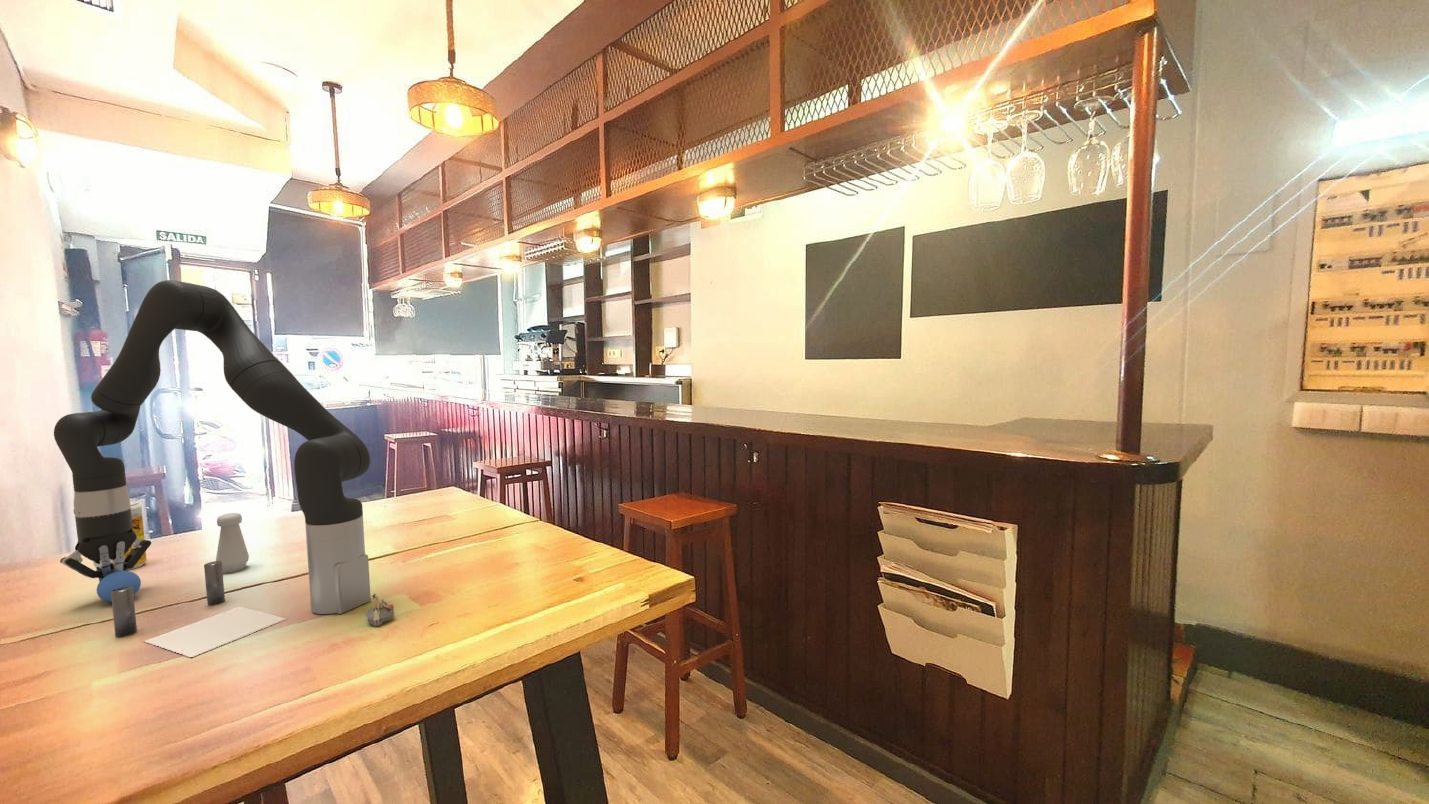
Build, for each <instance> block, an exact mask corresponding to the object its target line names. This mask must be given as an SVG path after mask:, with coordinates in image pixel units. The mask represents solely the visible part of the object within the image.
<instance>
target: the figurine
mask: <svg viewBox="0 0 1429 804" xmlns="http://www.w3.org/2000/svg"><path fill="white" fill-rule="evenodd" d="M371 597H372V600H374V606H373V607H371V608H370V609H368V610H367V611H366V612H365V617H366V618H367V620H366V621H367V623H369V624H371V625H372V626H373V627H378V626H381V625H382V624H384V623H386V621H387V622H389V621H391V620H392V619H393V618H394V615H395V609H394V608H395V605H394V604H392V603H391V600H389V601H386V600H385V599H384V598H382V599H381V598H379V596H378V595H377V594H376V593H374V594H373V595H372V596H371Z"/></svg>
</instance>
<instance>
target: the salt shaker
mask: <svg viewBox="0 0 1429 804" xmlns="http://www.w3.org/2000/svg"><path fill="white" fill-rule="evenodd" d="M242 517H243V516H242V514H240V513H238V512H230V513H225V514H221V515H219V516H218V517H217V518H216V525H217V526H218V527H220V529H219V530H220V532H219V538H218V544H217V551H216V558H215V561H222V569H223V574H230V573H231V574H232V573H236V572H239V571H243V570H244V569H245V568H246V566H247V564H248V561H249V559H250V554H249V552H248V549H247V546H246V542H245V539H244V537H243V536H244V535H243V533H242V530H241V525H240V524H241V523H242V521H243V518H242Z"/></svg>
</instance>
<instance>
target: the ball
mask: <svg viewBox="0 0 1429 804" xmlns="http://www.w3.org/2000/svg"><path fill="white" fill-rule="evenodd" d="M141 586H142V581H141V578H140V576H139V575H138V574H137V573H135V572H133V571H130V570H126V571H117V572H114V573H111V574H109V575H107V576H106V577H104V578H103V579H102V580H101V581H100V582H99V581H98V584H97V586H96V594H97V596H98V598H100V600H103V602H104V601H105V602H108V603H112V598H111V591H113V590H115V589H118V588H122V587H133V595H134V596H135V595H136V594H137V593H138V592H139V590H140V588H141Z"/></svg>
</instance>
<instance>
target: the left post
mask: <svg viewBox="0 0 1429 804" xmlns="http://www.w3.org/2000/svg"><path fill="white" fill-rule="evenodd" d="M134 596H135V595H133V587H122V588H118V589H115V590H113V591H111V598H112V602H111V605H112V616H113V617H112V618H113V627H114V633H115V634H114V636H115V637H116V638H124V637H128V636H131V635H134V634H135V633H137V631H138V629H137V628H138V626H137V618H136V608H135V599H134V598H135V597H134Z"/></svg>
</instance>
